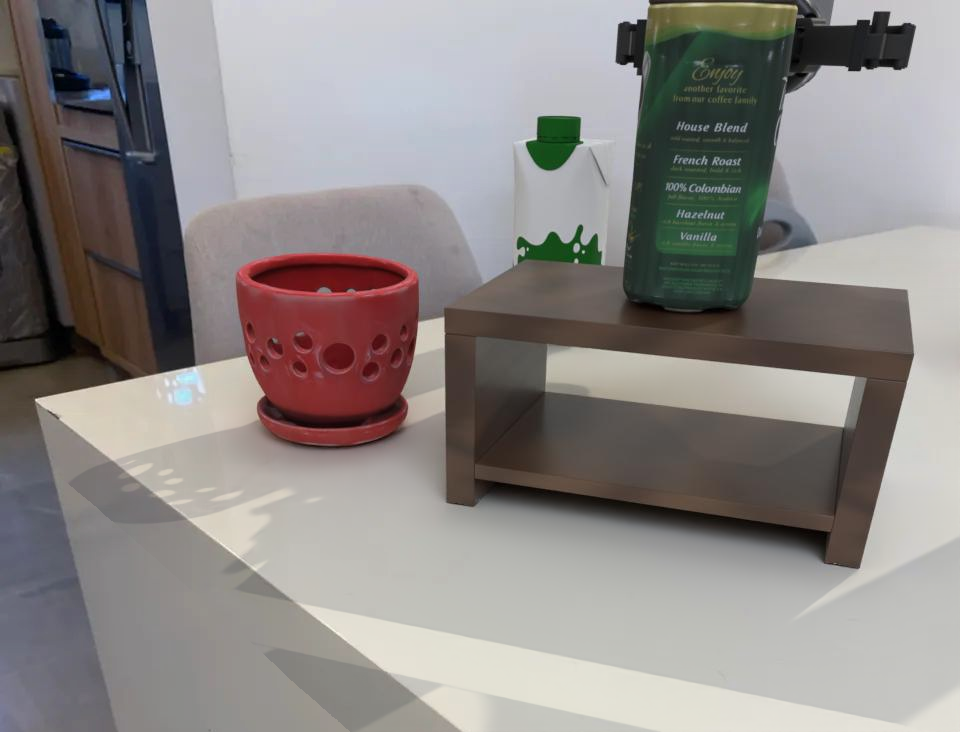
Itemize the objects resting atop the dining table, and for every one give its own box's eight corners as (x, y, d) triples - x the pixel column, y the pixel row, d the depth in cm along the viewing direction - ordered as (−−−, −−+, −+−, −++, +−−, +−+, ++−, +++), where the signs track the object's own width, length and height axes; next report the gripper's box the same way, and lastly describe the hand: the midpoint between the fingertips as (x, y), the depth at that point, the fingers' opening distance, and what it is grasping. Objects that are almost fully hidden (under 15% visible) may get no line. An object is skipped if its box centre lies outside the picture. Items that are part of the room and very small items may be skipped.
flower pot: (228, 454, 69) (204, 283, 63) (284, 398, 80) (268, 247, 74) (403, 465, 68) (397, 291, 61) (435, 406, 79) (433, 254, 72)
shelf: (863, 470, 68) (907, 289, 61) (859, 568, 55) (914, 353, 48) (519, 425, 75) (525, 258, 68) (445, 502, 62) (443, 307, 56)
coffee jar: (754, 320, 54) (821, -90, 44) (615, 312, 55) (648, -88, 45) (749, 284, 62) (803, -69, 52) (627, 278, 63) (658, -68, 53)
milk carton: (500, 338, 97) (504, 116, 86) (533, 319, 104) (541, 111, 93) (581, 349, 94) (596, 120, 83) (609, 328, 101) (626, 114, 90)
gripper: (925, 102, 76) (941, 118, 59) (619, 94, 82) (554, 107, 65) (951, -12, 72) (976, -30, 55) (627, -10, 78) (560, -25, 61)
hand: (746, 44), depth 60 cm, fingers open, 13 cm apart
